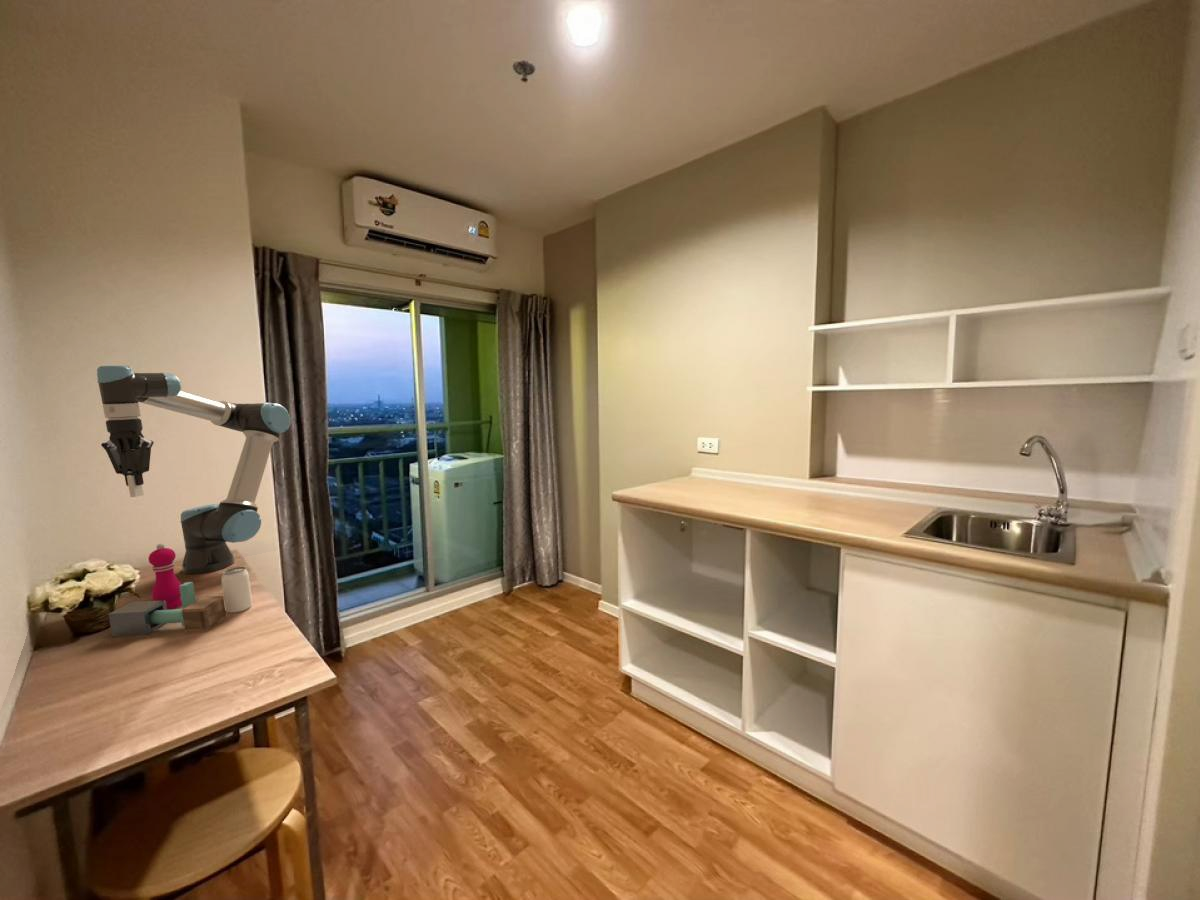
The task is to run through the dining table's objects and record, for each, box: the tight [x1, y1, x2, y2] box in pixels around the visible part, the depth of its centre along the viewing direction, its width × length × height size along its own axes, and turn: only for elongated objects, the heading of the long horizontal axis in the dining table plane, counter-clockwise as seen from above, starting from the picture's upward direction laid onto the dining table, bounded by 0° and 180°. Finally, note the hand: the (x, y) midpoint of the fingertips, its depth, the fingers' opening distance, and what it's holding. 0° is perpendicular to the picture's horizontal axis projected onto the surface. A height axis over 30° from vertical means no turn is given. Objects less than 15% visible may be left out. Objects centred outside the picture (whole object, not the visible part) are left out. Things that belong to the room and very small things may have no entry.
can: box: [220, 566, 253, 614], centre depth 142 cm, size 6×6×12 cm
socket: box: [181, 595, 227, 634], centre depth 132 cm, size 8×6×7 cm
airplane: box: [148, 581, 197, 627], centre depth 131 cm, size 16×5×11 cm, turn 94°
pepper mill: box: [148, 543, 183, 610], centre depth 144 cm, size 7×7×20 cm
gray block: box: [108, 600, 168, 638], centre depth 131 cm, size 7×9×7 cm
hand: (137, 495), depth 144 cm, fingers closed
